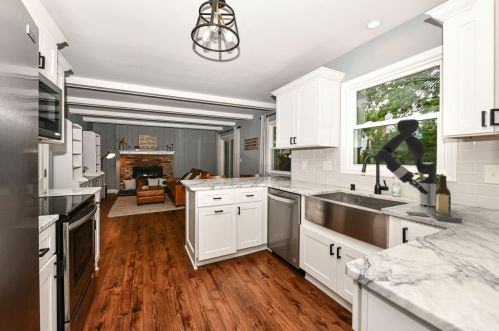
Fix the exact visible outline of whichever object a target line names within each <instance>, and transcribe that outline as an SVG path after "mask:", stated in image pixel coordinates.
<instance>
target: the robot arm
mask: <svg viewBox="0 0 499 331" xmlns="http://www.w3.org/2000/svg"><path fill="white" fill-rule="evenodd" d="M419 123H420V122H419V120H418V119H417V118H415V119H414V118H408V119H406V118H405V119H401V120H398V122H397V126H396V127H397V130H398V131H397V132H399V133H398V134H396V135H395V136H393V137H391V138H390V139H388V140H387V142H386V143H385V144H384V145H383V146H382V148H381V149H380V150H379V151H378V152H377V153H376V154H375V155H374V158H373V159H374V161H375V162H376V163H377V164H382V163H384V162H385V167H386V169H387V170H388V171H390V172H391V173H392V174H393V175H394V177H396V178H397V179H398V180H400V182H402V183H403V184H407V183H408V185H410V186H411V187H413V188H414V189H417V190H418V191H419V205H420V204H422V205H428V206H427V207H429V206H435V193H436V190H437V189H436V187H437V186H436V184H437V183H436V181H437V169H438V168H437V164H436V163H435V162H433V161H432V162H427V161H426V162H424V161H423V157H424V155H425V154H426V151H427V150H426V147H425V144H424V143H423V141H422V140H421V139H420V138H418V137H417V136H415V135H414V133H416V131H417V130H418V129H419V126H420V124H419ZM403 142H405V144H406V146H407V148H408V151H409V152H410V155H411V157H412V158H413V160H414V161H413V162H414V165H415V168H416V170H417V173H419V174H420V175H428V176H426V177H425V178H420V180H419V181H417V179H413V178H414V177H415V174H413V173H412V172H411V171H410V170H408V168H406V167H405V166H403V165H402V164H400V163H399V162H398V161H397V159H396V158H395V157H394V155H392V154H393V153H394V152H395V151H396V149H397V148H398V147H399V146H400V145H401V144H402V143H403ZM422 205H421V206H422Z"/></svg>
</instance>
